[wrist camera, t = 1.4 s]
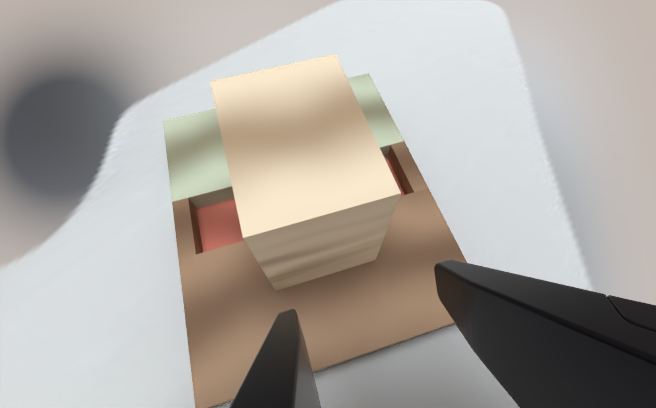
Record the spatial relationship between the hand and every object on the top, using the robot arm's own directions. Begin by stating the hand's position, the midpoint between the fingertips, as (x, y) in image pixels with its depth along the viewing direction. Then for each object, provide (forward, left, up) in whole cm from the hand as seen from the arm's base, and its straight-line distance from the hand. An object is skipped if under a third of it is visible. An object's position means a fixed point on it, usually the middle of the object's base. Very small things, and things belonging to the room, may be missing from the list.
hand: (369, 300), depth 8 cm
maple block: (+7, -3, -11) cm, 13 cm away
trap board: (+8, -4, -13) cm, 15 cm away
